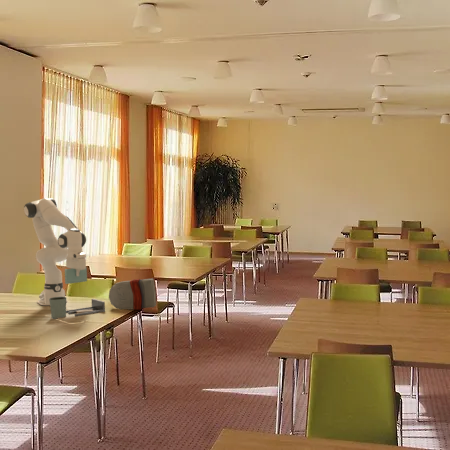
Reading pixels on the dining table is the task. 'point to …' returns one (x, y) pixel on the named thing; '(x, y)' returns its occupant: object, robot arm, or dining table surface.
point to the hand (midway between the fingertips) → (75, 275)
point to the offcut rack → (90, 308)
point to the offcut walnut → (83, 311)
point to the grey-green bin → (58, 307)
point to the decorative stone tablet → (133, 294)
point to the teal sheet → (72, 278)
